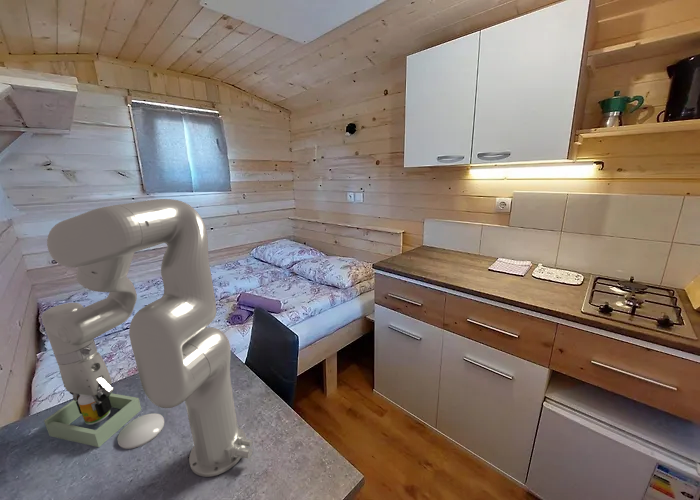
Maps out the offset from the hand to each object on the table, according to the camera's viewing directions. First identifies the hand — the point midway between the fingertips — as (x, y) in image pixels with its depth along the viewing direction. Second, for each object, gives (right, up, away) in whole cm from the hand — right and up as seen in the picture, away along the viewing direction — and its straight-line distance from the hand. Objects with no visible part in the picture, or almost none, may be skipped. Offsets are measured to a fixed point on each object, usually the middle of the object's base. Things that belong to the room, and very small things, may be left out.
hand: (96, 410), depth 80 cm
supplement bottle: (0, -2, +1) cm, 2 cm away
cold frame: (-1, -4, +1) cm, 4 cm away
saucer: (+14, -4, -2) cm, 14 cm away
